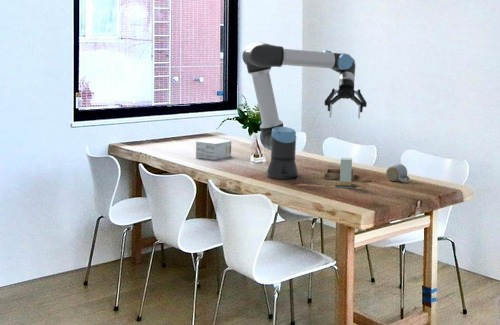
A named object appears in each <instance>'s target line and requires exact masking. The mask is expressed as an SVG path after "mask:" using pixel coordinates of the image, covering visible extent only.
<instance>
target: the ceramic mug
mask: <svg viewBox="0 0 500 325" xmlns="http://www.w3.org/2000/svg"><path fill="white" fill-rule="evenodd" d="M385 176H386V178H387V179H388V180H389V181H391V182H397V181H400V182H402V183H406V184H408V183H409V181H410V176H408V169H407V167H406V166H405V165H404V164H402V163H397V164H394V165H392V166H389V167H388V168H387V169H386V171H385Z"/></svg>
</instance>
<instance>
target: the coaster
mask: <svg viewBox="0 0 500 325" xmlns="http://www.w3.org/2000/svg"><path fill="white" fill-rule="evenodd" d="M334 188H336V189H337V188H338V189H350V190H351V189H353V190H354V189H355V190H356V186H355V185H351V186H350V185H344V186H339V184H334Z"/></svg>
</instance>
